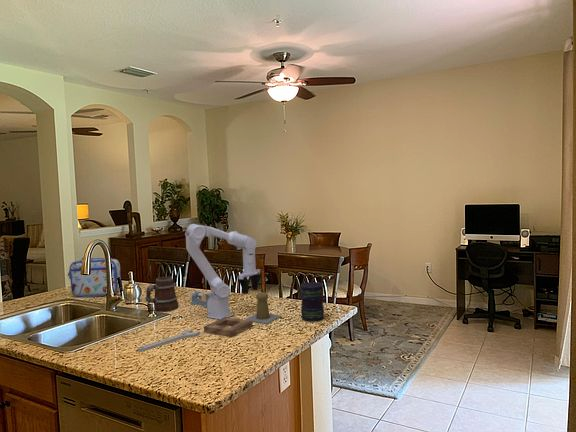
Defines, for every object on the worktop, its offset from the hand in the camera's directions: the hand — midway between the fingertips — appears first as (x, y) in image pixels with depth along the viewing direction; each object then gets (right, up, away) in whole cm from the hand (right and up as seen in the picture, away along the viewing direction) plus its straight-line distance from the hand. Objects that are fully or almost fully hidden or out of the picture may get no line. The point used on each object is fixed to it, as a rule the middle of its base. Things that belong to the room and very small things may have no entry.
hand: (250, 291), depth 200 cm
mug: (-44, -11, +10) cm, 46 cm away
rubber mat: (+6, -10, -11) cm, 16 cm away
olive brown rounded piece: (+7, -10, -11) cm, 16 cm away
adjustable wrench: (-28, -13, -35) cm, 47 cm away
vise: (-25, -10, +18) cm, 32 cm away
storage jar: (+28, -10, -13) cm, 33 cm away
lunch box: (-91, -10, +44) cm, 102 cm away
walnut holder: (-7, -11, -24) cm, 27 cm away
